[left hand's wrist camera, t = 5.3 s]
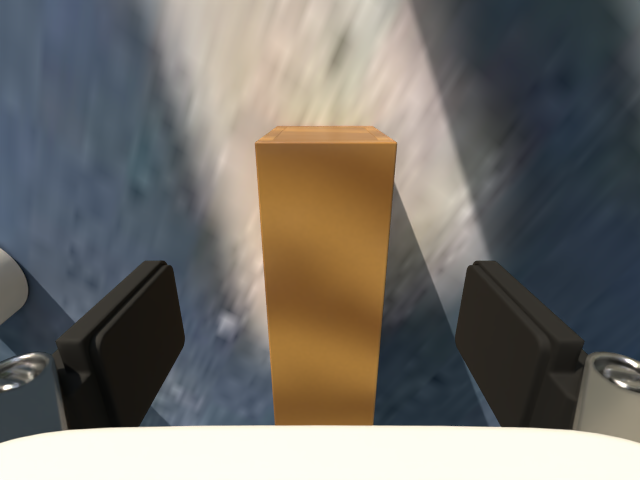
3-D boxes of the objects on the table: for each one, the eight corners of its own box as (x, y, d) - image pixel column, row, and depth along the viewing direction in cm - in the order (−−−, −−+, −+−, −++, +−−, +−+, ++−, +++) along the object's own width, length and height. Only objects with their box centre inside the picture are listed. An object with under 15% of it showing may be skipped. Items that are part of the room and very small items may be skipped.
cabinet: (360, 352, 29) (372, 436, 22) (287, 352, 29) (275, 436, 22) (373, 126, 22) (397, 142, 15) (276, 126, 22) (254, 142, 15)
